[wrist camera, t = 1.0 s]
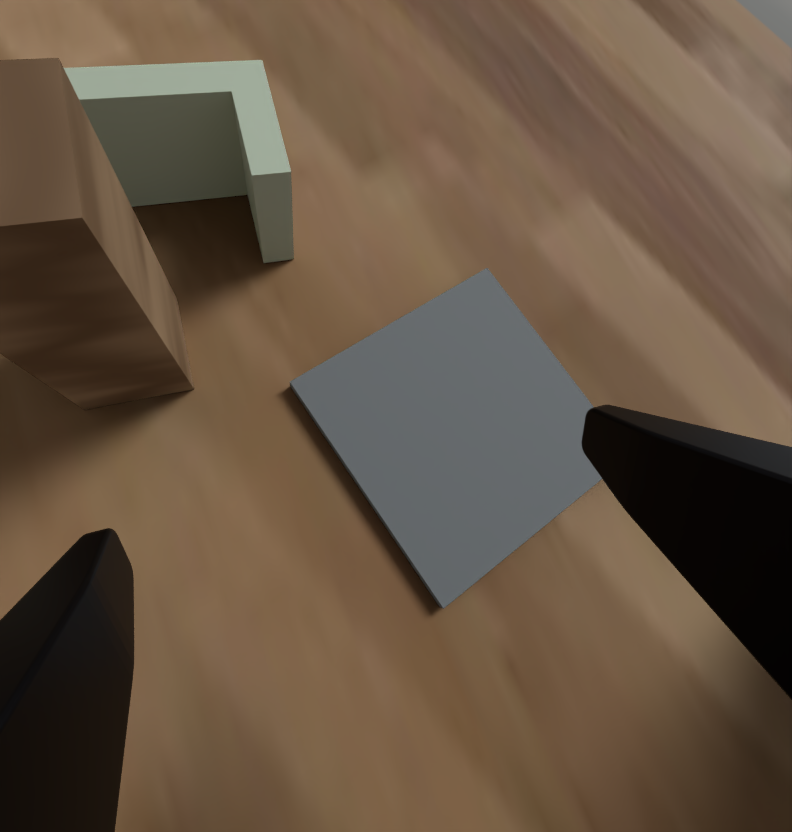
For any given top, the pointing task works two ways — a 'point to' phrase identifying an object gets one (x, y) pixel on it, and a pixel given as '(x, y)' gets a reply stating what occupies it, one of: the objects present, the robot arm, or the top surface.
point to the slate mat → (455, 431)
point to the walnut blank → (77, 255)
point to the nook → (194, 138)
